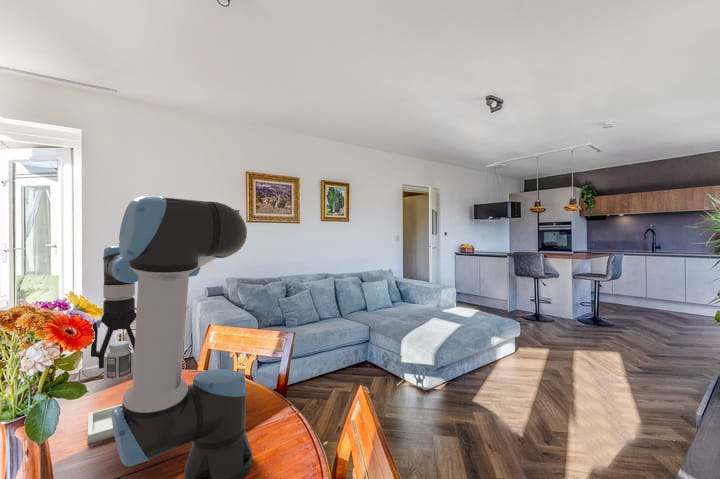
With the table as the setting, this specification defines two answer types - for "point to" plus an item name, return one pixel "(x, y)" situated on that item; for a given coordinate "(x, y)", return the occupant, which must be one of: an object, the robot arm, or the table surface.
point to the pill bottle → (118, 360)
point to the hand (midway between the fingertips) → (119, 375)
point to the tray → (100, 425)
